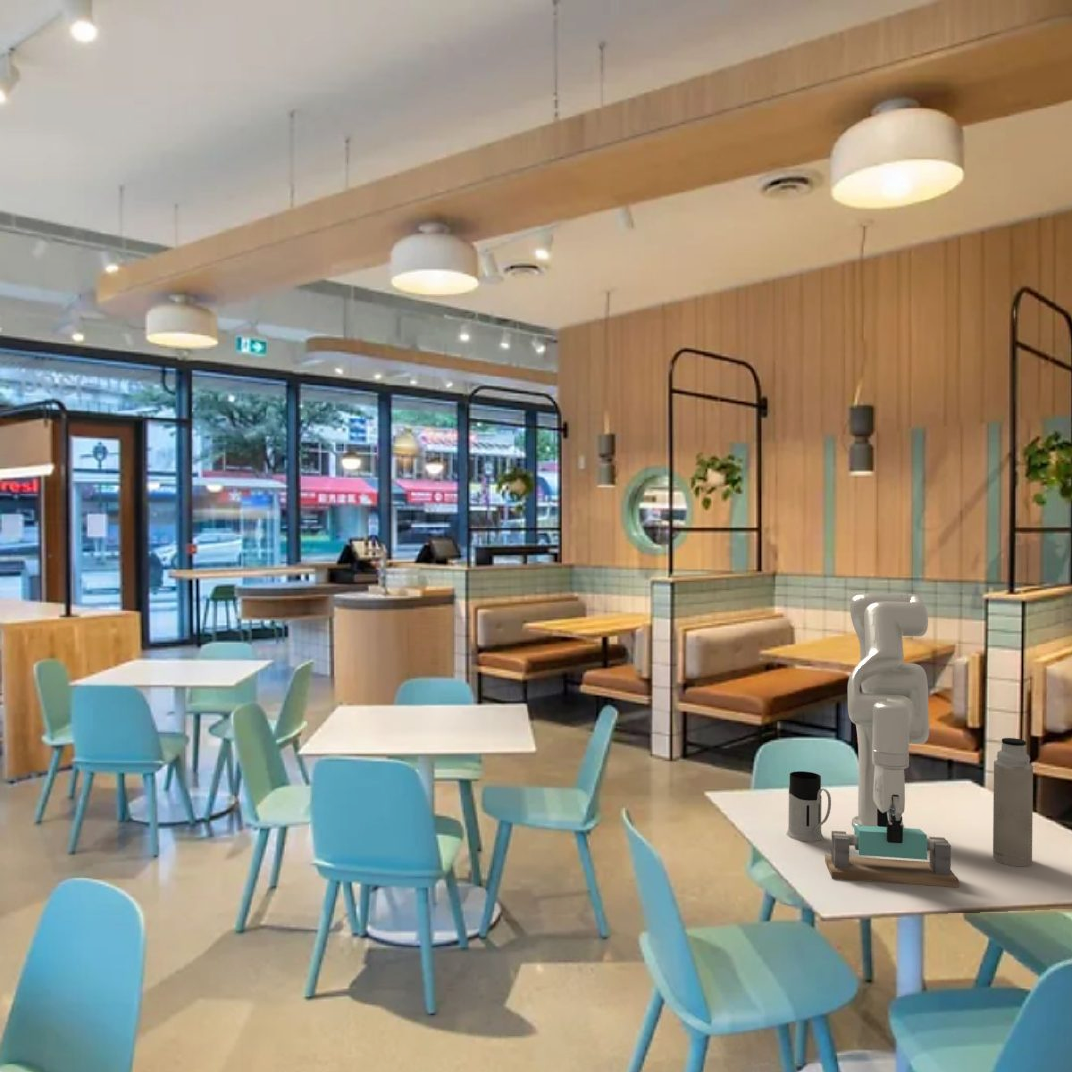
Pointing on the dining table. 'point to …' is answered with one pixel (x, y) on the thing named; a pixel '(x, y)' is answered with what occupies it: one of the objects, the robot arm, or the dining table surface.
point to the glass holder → (806, 806)
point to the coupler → (877, 845)
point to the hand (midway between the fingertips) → (889, 834)
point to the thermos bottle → (1013, 804)
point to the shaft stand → (891, 864)
